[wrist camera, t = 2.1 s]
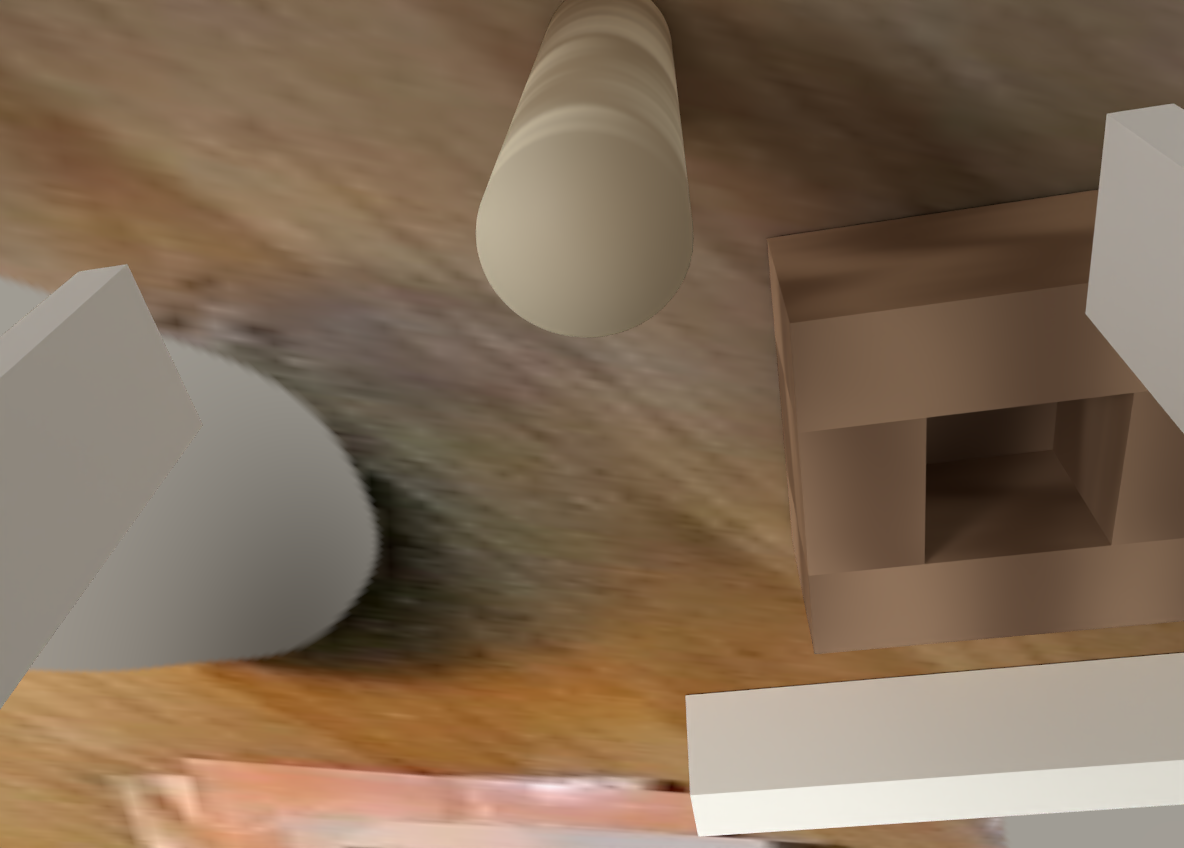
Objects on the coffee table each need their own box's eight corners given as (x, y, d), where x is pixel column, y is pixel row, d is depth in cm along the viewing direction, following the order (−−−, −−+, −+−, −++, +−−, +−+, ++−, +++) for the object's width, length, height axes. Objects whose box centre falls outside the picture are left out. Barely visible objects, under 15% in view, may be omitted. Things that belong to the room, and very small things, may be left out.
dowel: (557, 125, 25) (502, 350, 15) (532, -5, 24) (451, 153, 14) (679, 105, 25) (705, 322, 15) (662, -29, 23) (678, 114, 13)
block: (792, 542, 32) (814, 653, 28) (766, 238, 27) (790, 323, 22) (1139, 505, 31) (1216, 618, 27) (1194, 175, 25) (1304, 253, 21)
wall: (693, 736, 38) (698, 836, 35) (685, 695, 37) (690, 795, 33) (1232, 692, 36) (1299, 796, 32) (1243, 647, 34) (1315, 750, 31)
